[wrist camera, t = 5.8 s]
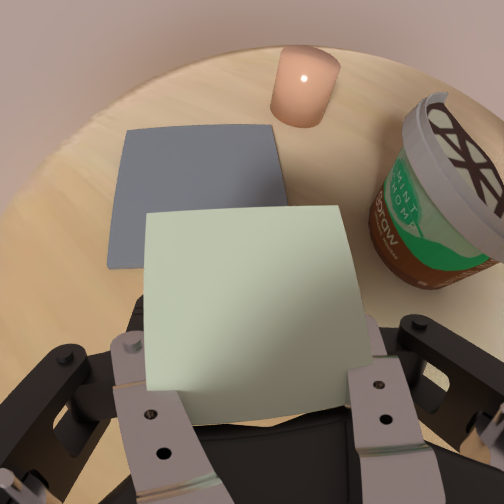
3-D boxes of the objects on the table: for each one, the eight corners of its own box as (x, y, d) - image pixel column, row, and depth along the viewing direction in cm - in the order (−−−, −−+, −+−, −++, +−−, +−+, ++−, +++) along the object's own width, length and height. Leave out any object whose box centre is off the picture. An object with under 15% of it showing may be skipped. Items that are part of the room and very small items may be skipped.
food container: (328, 180, 24) (377, 77, 15) (387, 173, 25) (443, 87, 16) (393, 331, 19) (502, 275, 10) (451, 304, 20) (547, 247, 11)
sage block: (272, 311, 16) (338, 205, 7) (283, 395, 14) (378, 396, 6) (186, 317, 16) (146, 213, 7) (193, 404, 14) (150, 425, 5)
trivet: (269, 129, 25) (271, 124, 25) (295, 259, 20) (297, 255, 20) (128, 135, 23) (127, 130, 23) (109, 269, 18) (106, 265, 18)
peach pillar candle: (315, 97, 28) (330, 49, 23) (328, 129, 26) (348, 78, 21) (266, 93, 28) (276, 42, 22) (274, 126, 26) (287, 70, 20)
